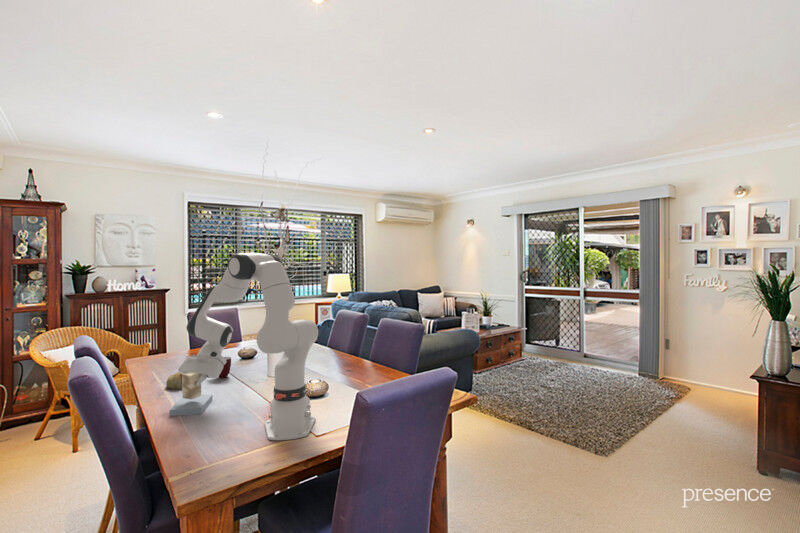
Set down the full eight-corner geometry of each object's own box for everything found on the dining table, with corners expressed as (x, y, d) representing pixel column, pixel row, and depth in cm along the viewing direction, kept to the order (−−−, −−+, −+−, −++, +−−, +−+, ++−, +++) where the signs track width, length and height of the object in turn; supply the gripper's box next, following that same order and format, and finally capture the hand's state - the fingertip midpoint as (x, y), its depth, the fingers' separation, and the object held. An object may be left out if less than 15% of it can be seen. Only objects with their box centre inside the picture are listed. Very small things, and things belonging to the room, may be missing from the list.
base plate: (201, 414, 164) (201, 407, 164) (169, 417, 162) (169, 409, 162) (212, 401, 180) (212, 394, 180) (183, 403, 178) (183, 396, 178)
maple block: (201, 395, 173) (200, 372, 172) (191, 399, 168) (191, 375, 168) (192, 394, 174) (191, 371, 174) (182, 398, 170) (182, 374, 169)
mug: (210, 381, 208) (210, 362, 208) (209, 377, 215) (208, 358, 215) (232, 377, 214) (232, 359, 213) (230, 374, 221) (230, 356, 220)
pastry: (194, 388, 198) (193, 371, 198) (164, 391, 193) (164, 375, 193) (195, 380, 211) (194, 365, 211) (167, 383, 206) (167, 368, 205)
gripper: (186, 350, 181) (167, 378, 172) (222, 354, 174) (204, 383, 165) (194, 358, 185) (176, 385, 176) (229, 361, 178) (213, 390, 169)
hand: (190, 384), depth 170 cm, fingers closed on maple block, 5 cm apart
